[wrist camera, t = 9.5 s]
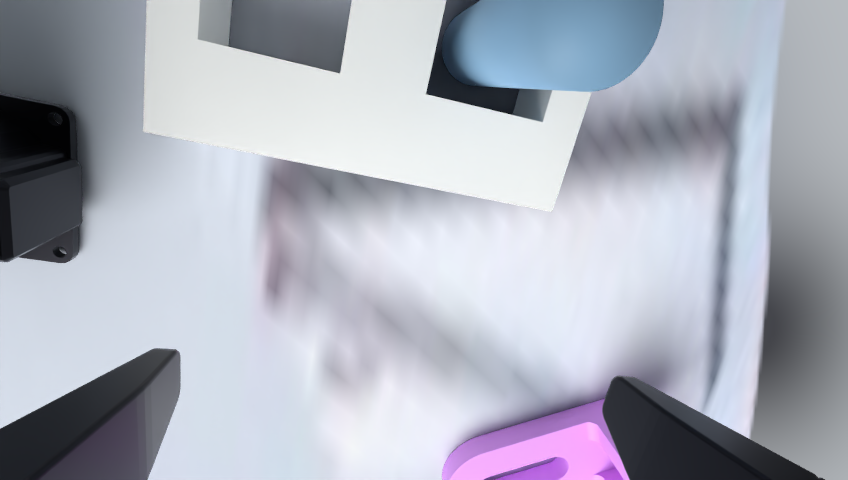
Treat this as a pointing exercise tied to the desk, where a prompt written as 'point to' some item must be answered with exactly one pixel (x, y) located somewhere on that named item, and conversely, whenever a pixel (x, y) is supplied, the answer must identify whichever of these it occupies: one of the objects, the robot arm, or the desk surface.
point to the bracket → (542, 450)
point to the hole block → (354, 104)
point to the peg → (551, 43)
